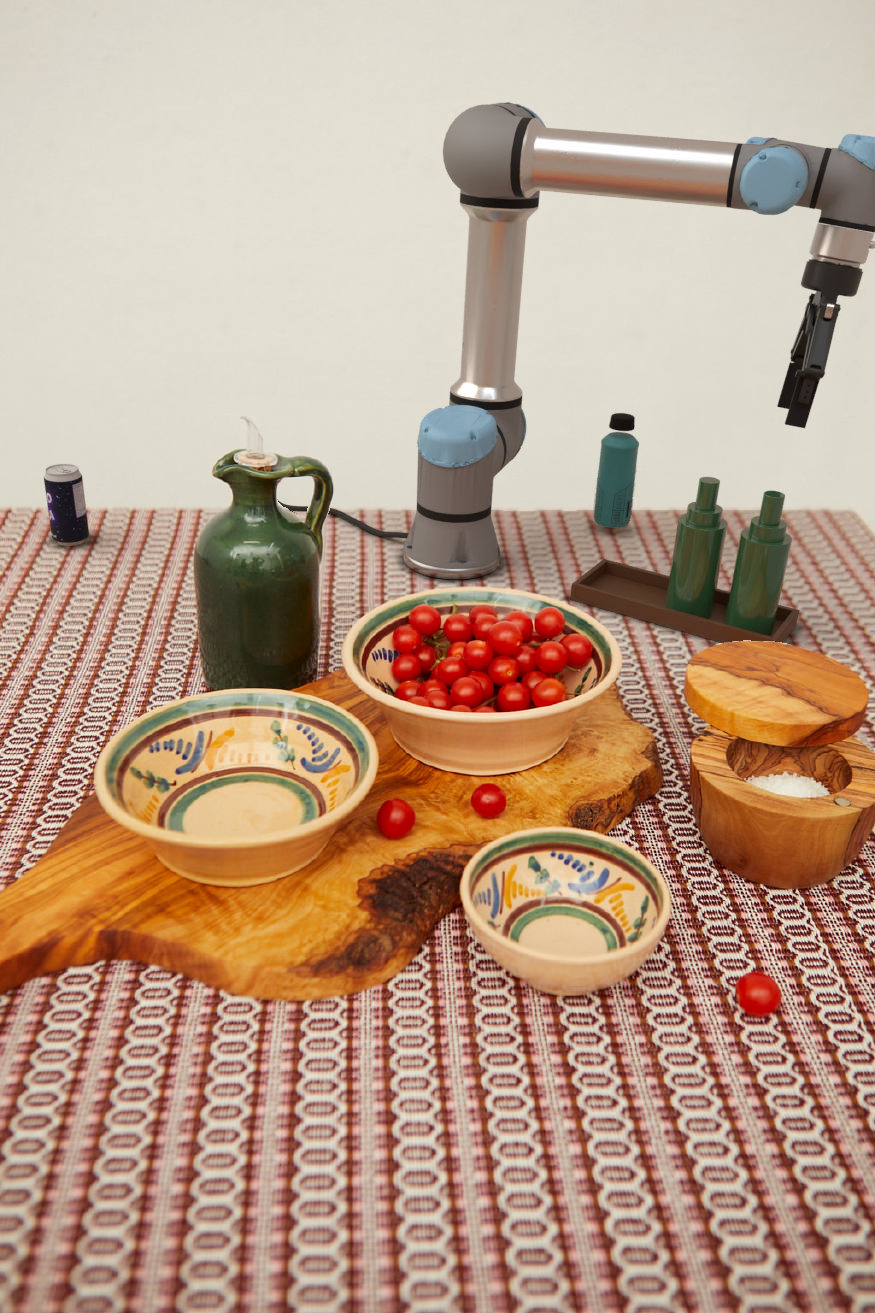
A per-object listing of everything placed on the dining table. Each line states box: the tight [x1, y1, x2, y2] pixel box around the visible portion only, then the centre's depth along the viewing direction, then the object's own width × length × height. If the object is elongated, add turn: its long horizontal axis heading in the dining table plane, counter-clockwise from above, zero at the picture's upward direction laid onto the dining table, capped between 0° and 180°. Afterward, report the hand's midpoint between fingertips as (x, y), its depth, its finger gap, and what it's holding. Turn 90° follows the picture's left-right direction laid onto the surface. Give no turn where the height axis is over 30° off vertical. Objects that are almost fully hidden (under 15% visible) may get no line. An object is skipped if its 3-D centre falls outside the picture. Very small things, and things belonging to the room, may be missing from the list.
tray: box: [569, 558, 800, 644], centre depth 160 cm, size 31×12×3 cm, turn 58°
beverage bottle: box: [593, 412, 640, 529], centre depth 184 cm, size 6×7×20 cm
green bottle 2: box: [724, 490, 793, 636], centre depth 151 cm, size 7×7×20 cm
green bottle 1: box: [665, 476, 729, 619], centre depth 155 cm, size 7×7×20 cm
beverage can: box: [43, 463, 90, 547], centre depth 172 cm, size 6×6×12 cm
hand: (790, 417), depth 157 cm, fingers open, 13 cm apart
